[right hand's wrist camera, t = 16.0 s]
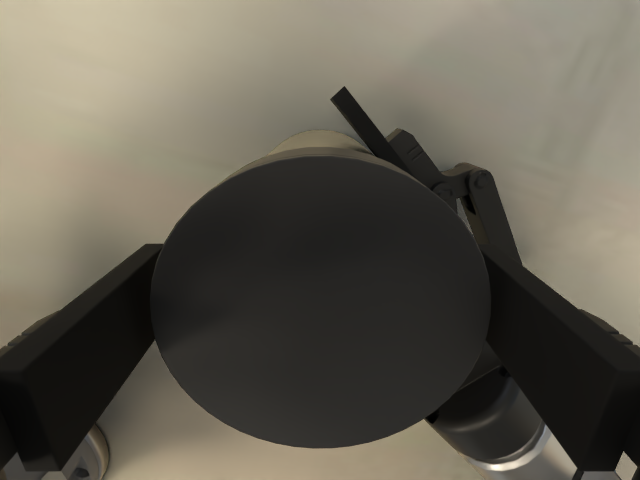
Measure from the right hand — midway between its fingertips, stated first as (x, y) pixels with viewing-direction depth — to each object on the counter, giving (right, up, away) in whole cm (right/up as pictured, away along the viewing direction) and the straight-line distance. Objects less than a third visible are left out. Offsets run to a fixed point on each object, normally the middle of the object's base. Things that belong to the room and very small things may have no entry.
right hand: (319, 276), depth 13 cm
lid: (0, -1, -3) cm, 3 cm away
